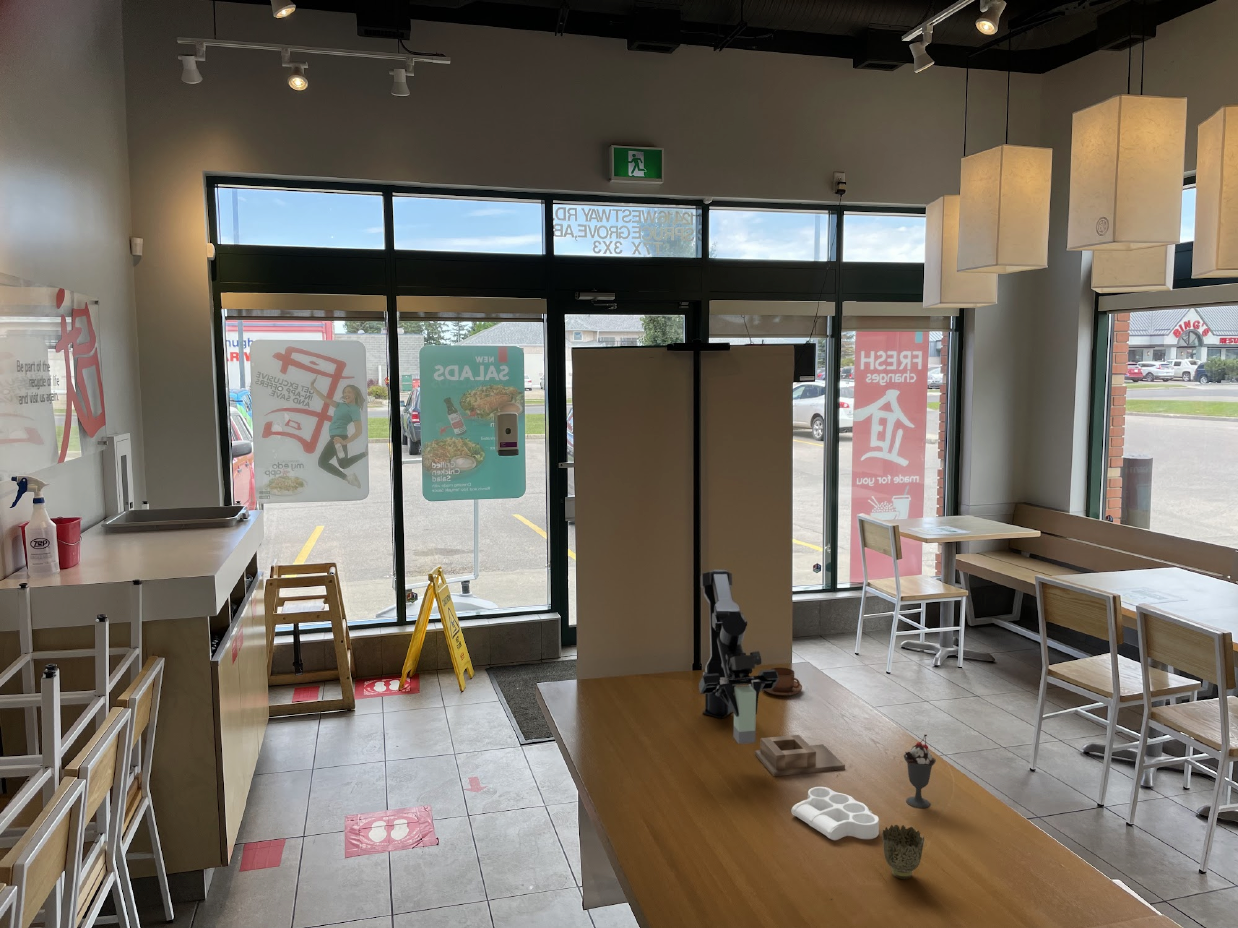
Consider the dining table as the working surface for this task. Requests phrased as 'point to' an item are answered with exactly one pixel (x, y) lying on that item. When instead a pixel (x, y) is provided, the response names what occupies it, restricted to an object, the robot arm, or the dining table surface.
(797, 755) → the wooden socket base
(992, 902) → the dining table surface
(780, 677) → the cup and saucer
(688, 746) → the dining table surface
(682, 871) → the dining table surface
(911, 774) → the sundae
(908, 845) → the cup
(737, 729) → the sage green square pillar
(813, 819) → the white brass knuckles
